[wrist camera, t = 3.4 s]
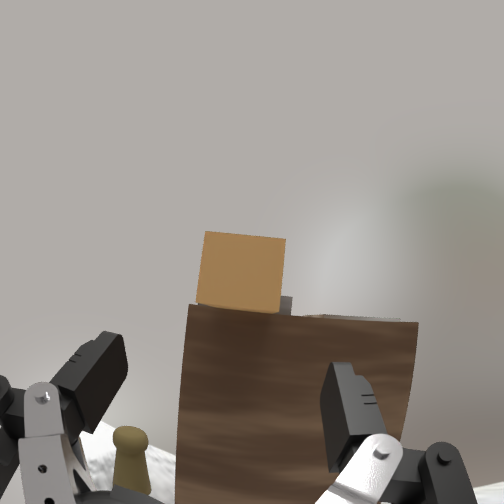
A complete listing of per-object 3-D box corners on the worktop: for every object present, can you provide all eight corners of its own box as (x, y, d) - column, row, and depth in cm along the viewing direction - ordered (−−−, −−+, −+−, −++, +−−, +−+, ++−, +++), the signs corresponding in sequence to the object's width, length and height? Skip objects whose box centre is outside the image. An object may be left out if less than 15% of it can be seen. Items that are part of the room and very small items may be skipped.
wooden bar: (231, 311, 37) (234, 280, 38) (266, 315, 37) (270, 283, 38) (195, 302, 16) (205, 231, 17) (279, 311, 16) (285, 239, 16)
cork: (125, 501, 27) (121, 440, 29) (105, 480, 30) (102, 422, 33) (159, 493, 31) (159, 435, 33) (138, 475, 35) (137, 420, 37)
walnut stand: (194, 508, 29) (212, 296, 36) (333, 515, 28) (372, 310, 35) (175, 557, 17) (191, 285, 24) (353, 563, 16) (419, 305, 23)
